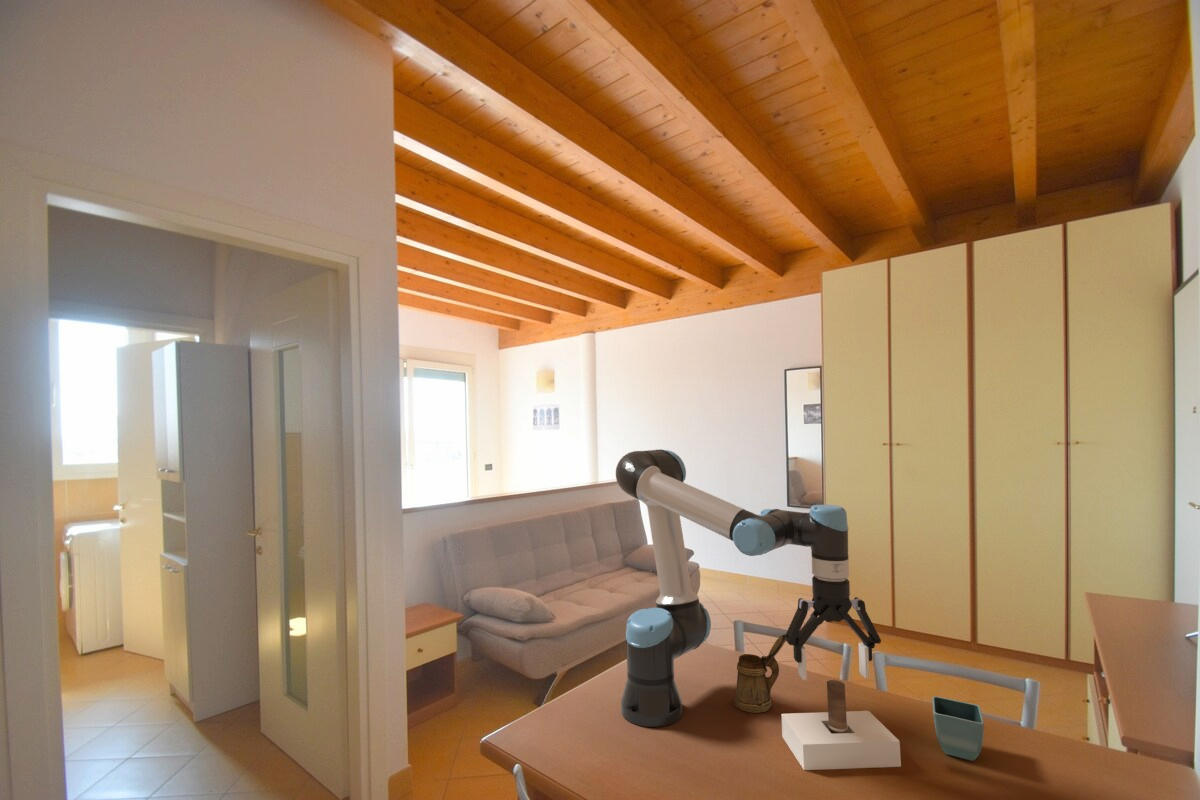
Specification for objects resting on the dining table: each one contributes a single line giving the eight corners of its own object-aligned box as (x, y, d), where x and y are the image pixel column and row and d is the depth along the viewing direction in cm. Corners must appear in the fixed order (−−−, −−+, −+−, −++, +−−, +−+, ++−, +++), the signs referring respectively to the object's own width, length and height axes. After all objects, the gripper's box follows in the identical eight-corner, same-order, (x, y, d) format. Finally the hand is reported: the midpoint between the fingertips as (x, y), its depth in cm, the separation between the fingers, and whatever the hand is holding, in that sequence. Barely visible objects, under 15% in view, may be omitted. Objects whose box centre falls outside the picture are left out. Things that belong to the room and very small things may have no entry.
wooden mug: (791, 718, 127) (787, 641, 129) (733, 710, 132) (730, 635, 133) (789, 700, 136) (786, 628, 137) (735, 693, 140) (732, 623, 141)
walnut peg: (826, 746, 116) (823, 680, 117) (843, 746, 116) (840, 679, 117) (834, 756, 112) (831, 688, 113) (851, 756, 112) (848, 687, 113)
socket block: (782, 736, 120) (781, 713, 120) (869, 733, 120) (868, 710, 121) (804, 770, 108) (802, 744, 108) (901, 766, 108) (899, 741, 109)
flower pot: (982, 747, 114) (979, 704, 115) (987, 770, 107) (984, 723, 107) (934, 736, 119) (931, 695, 119) (935, 757, 111) (933, 713, 112)
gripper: (780, 582, 112) (782, 685, 111) (896, 581, 113) (900, 683, 112) (768, 573, 120) (770, 669, 119) (877, 571, 121) (880, 667, 119)
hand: (833, 676), depth 115 cm, fingers open, 13 cm apart
